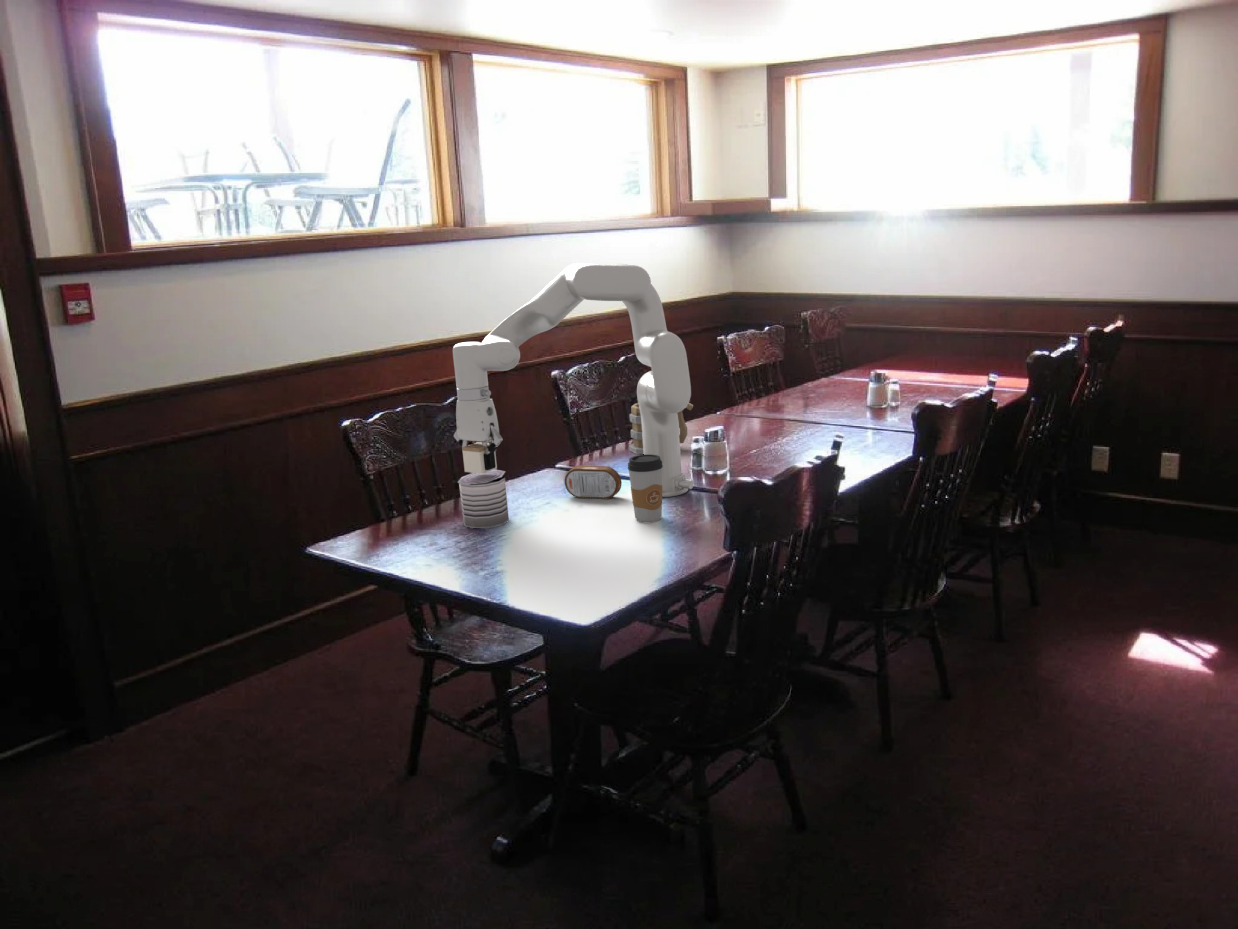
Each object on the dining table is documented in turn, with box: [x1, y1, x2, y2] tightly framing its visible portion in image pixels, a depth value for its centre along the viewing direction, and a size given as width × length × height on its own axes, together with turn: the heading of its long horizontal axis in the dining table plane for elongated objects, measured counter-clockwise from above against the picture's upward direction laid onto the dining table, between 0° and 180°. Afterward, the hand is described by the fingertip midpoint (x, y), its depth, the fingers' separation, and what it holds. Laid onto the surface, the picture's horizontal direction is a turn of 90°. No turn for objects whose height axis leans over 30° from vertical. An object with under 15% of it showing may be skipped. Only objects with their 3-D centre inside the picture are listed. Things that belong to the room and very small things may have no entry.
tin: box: [564, 464, 623, 500], centre depth 275 cm, size 15×3×8 cm, turn 71°
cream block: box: [461, 442, 498, 474], centre depth 258 cm, size 6×6×6 cm
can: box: [457, 468, 510, 529], centre depth 260 cm, size 11×11×12 cm
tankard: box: [628, 402, 694, 455], centre depth 321 cm, size 20×13×15 cm, turn 68°
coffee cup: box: [627, 454, 663, 523], centre depth 253 cm, size 8×8×15 cm
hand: (480, 466), depth 258 cm, fingers closed on cream block, 5 cm apart
